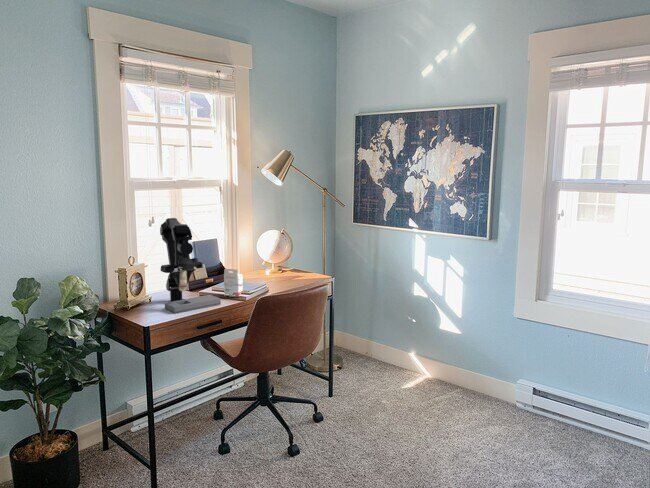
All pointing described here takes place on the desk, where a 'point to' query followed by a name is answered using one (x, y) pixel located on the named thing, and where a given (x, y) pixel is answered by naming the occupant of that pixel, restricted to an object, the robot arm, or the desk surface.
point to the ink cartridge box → (233, 282)
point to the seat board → (192, 304)
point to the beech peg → (182, 280)
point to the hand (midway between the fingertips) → (182, 284)
